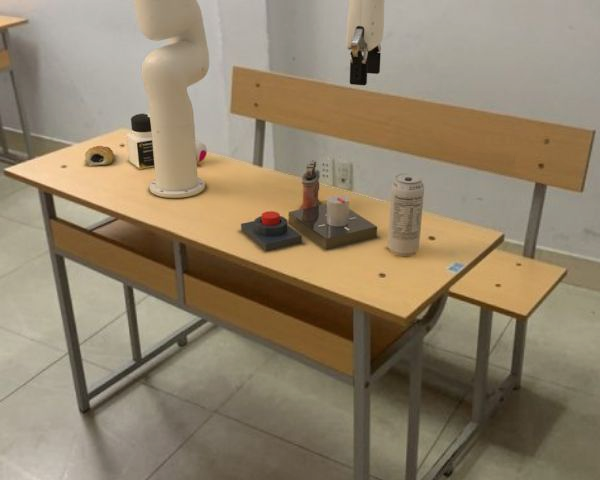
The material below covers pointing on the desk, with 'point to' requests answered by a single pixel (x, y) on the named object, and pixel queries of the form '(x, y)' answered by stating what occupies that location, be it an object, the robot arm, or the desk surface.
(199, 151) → the stress ball
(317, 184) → the lighter
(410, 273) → the desk surface
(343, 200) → the knob
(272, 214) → the power button
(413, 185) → the energy drink can
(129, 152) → the medicine bottle
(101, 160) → the pastry
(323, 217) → the grey dial base plate
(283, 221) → the control block
